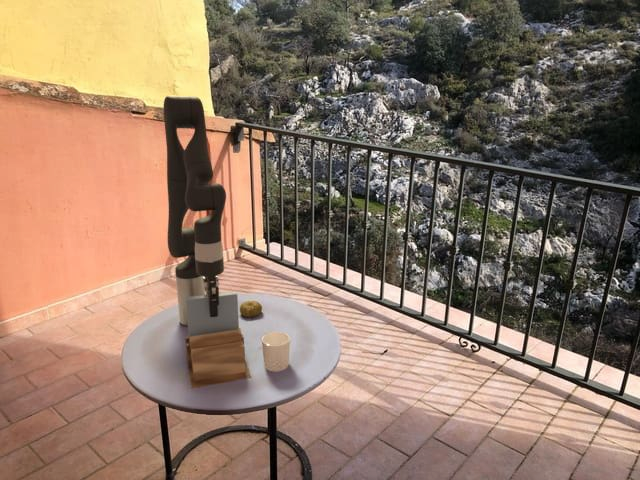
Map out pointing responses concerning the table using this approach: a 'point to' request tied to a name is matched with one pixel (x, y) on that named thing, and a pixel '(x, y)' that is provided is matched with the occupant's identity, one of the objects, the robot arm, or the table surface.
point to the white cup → (276, 351)
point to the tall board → (205, 324)
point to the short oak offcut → (218, 360)
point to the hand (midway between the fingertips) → (212, 312)
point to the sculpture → (252, 305)
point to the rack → (215, 379)
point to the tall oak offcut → (215, 339)
